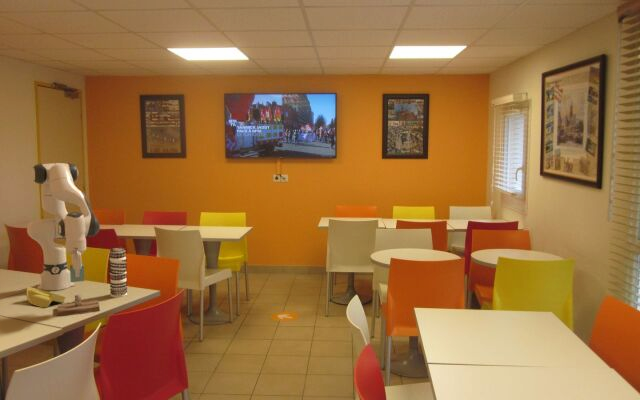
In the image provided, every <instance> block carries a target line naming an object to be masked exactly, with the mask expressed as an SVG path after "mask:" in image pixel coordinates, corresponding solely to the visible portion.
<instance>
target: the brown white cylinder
mask: <svg viewBox="0 0 640 400" xmlns="http://www.w3.org/2000/svg"><path fill="white" fill-rule="evenodd" d="M127 261H128V259H127V257H126V250H125V248H123V247H115V248H111V250H109V260H108V266H109V268H108V269H109V275H110V283H109V284H110V286H109V287H110V289H109V290H110V292H109V293H110V297H112V298H121V297H124V296H127V295H128V287H127V286H128V281H127V273H128V272H127V271H128V270H127V269H126V268H128V266H127V265H128V263H127Z"/></svg>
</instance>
